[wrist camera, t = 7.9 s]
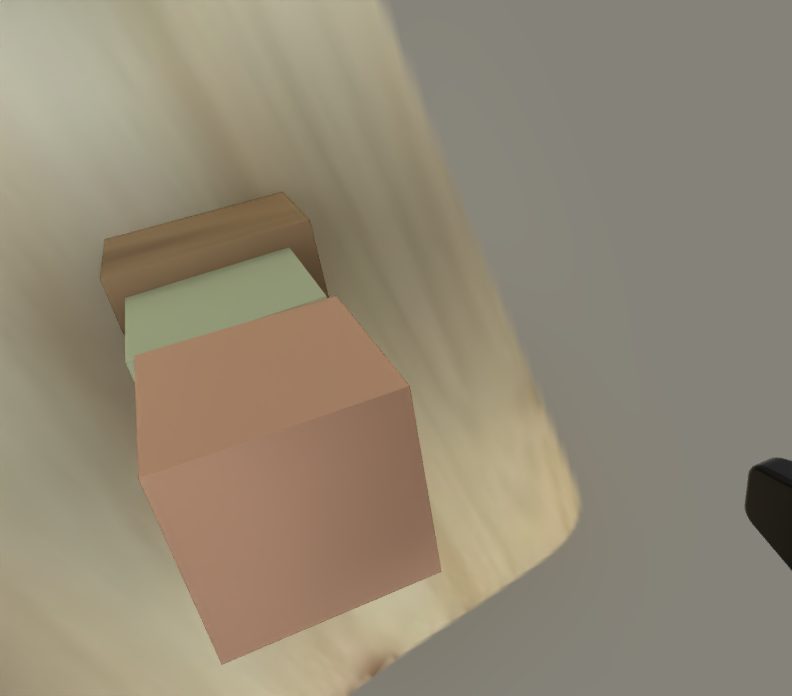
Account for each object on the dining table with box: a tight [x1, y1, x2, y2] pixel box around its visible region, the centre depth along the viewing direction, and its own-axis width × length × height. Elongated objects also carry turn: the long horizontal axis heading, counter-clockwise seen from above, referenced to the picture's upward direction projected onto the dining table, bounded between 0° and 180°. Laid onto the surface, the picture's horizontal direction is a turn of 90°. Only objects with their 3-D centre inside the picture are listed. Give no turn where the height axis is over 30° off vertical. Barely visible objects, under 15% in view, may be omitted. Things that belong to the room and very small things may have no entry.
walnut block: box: [100, 192, 329, 336], centre depth 18 cm, size 5×5×4 cm
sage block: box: [125, 247, 327, 382], centre depth 15 cm, size 4×4×4 cm
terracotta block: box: [134, 296, 441, 664], centre depth 12 cm, size 4×4×4 cm
